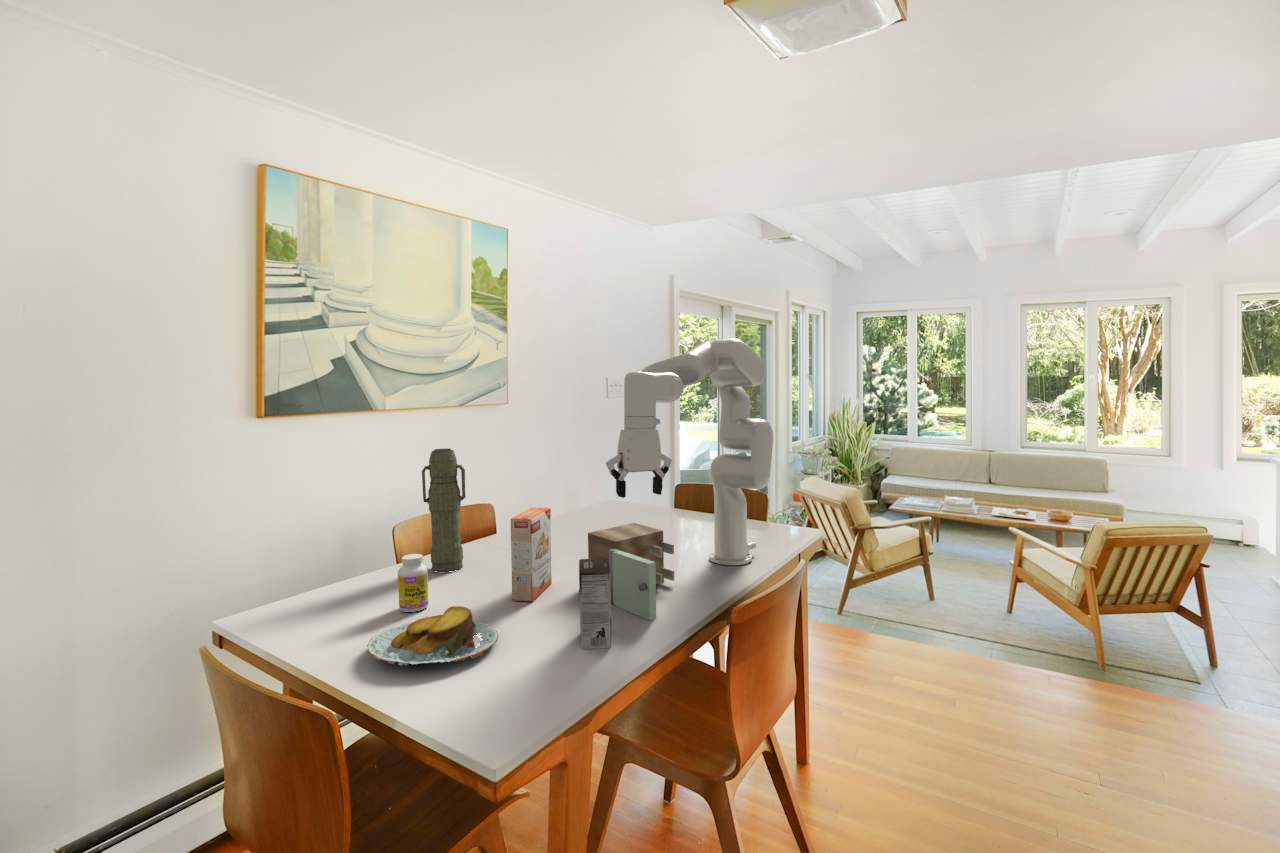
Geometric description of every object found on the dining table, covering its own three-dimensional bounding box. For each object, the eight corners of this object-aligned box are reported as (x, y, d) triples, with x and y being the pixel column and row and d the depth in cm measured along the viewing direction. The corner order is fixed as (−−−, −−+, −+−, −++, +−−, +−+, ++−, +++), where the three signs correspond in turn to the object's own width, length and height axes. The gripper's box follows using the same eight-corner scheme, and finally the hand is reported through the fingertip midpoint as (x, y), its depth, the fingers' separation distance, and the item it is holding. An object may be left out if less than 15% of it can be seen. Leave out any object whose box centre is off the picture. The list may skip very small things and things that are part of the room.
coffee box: (580, 631, 133) (579, 558, 131) (610, 629, 133) (609, 557, 132) (580, 649, 124) (578, 571, 122) (612, 648, 124) (610, 570, 123)
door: (615, 600, 151) (614, 548, 150) (656, 617, 140) (656, 561, 139) (604, 603, 149) (603, 551, 148) (645, 621, 137) (644, 565, 136)
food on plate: (361, 641, 130) (360, 611, 130) (478, 617, 143) (477, 589, 142) (378, 692, 108) (377, 656, 108) (514, 658, 121) (513, 626, 121)
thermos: (470, 570, 177) (465, 449, 174) (427, 575, 173) (421, 452, 170) (467, 561, 185) (462, 446, 182) (425, 566, 181) (420, 449, 178)
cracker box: (534, 603, 150) (531, 519, 148) (511, 601, 151) (508, 518, 150) (553, 584, 164) (551, 506, 162) (532, 582, 165) (530, 506, 163)
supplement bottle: (401, 615, 143) (398, 562, 142) (397, 606, 149) (395, 555, 148) (430, 610, 146) (428, 557, 145) (426, 601, 152) (424, 551, 151)
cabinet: (635, 571, 173) (634, 522, 172) (674, 585, 161) (674, 533, 160) (589, 584, 163) (587, 532, 162) (627, 600, 150) (626, 544, 149)
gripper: (663, 422, 153) (662, 490, 154) (600, 423, 145) (600, 495, 146) (679, 424, 147) (678, 495, 147) (613, 425, 139) (613, 500, 139)
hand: (639, 495), depth 147 cm, fingers open, 9 cm apart
